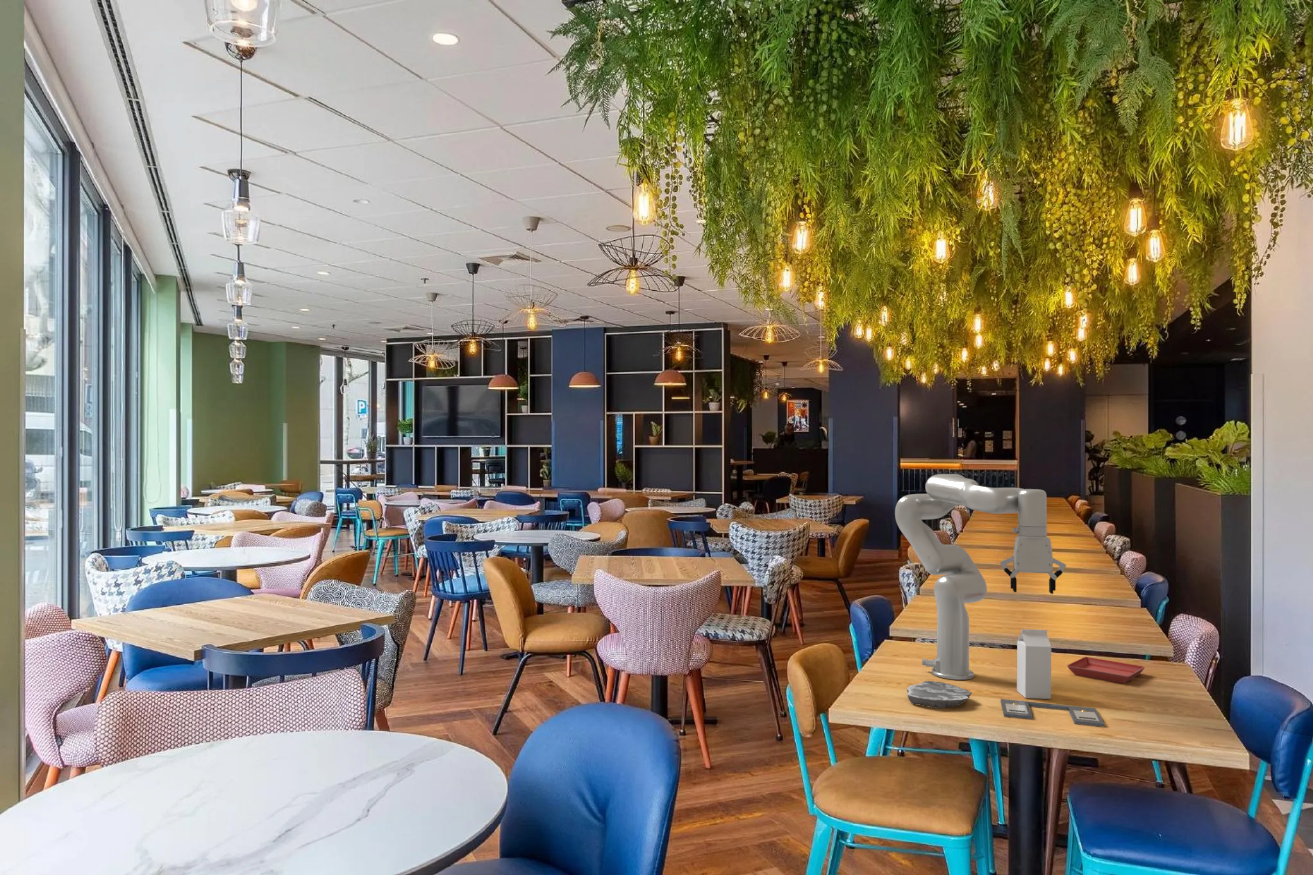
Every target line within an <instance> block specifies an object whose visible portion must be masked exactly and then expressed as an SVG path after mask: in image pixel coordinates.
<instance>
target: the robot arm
mask: <svg viewBox="0 0 1313 875" xmlns="http://www.w3.org/2000/svg"><path fill="white" fill-rule="evenodd" d="M925 492H926V493H915V494H914V493H913V494H907V495H904V496H902V497H901V498H899V500H898V501H897V502H896V505H895V510H894V515H895V516H894V517H895V522H896V524H897V526H898V528H899V530H900V531H901V533H902V535H903V536H904V537H905V538H906V540H907V541H908V543H909V544H910V546H911V548H912V549H913V551H914V553H915V554H916V556H917V557H918V559H919V561H920V563H921V564H922V566H923V568H924V569H925V571H926V572H927V573H928V574H930V575H933V576H939V578H938V579H936V581H935V583H934V587H933V591H934V592H933V594H934V598H935V603H936V618H937V619H936V625H937V626H936V633H937V634H936V656H935V658H932V659H925V658H922V659H921V665H922V666H925V667H927V668H930V667H932V668H931V673H932V675H933V676H936V677H938V678H943V679H945V680H946V679H947V680H956V681H961V680H962V681H963V680H965V681H966V680H971V679H973V678H974V677H975V672H974V671H973V670H970V617H969V613H968V611H967V609H966V605H965V604H970V603H971V604H972V603H973V604H974V603H979V602H980V601H982V600H983V599H985V597H986V596H987V594H988V586H987V582H986V580H985V578H984V576H983V574H982V573H981V571H980V570H979V568H978V566H977V565H976V563H975V562H974V561H973V559H972V557H971V556H970V554H969V553H968V551H966V549H965V548H963V547H961V546H960V545H957V544H951V543H950V544H943V543H942V542H941V541H940V539H939V537H938V536H937V535H936V533H935V531H933V529H932V528H931V527H930V526H929V525H927V524H926V523H925V522H923V520H936V519H939V518H943V517H944V516H946V515H947V514H948V513H949V512H951V511H952V510H953V509H954V508H955V507H957V506H958V505H960V506H964V507H966V508H968V509H970V510H974V511H978V512H983V513H987V514H995V515H996V514H997V515H999V514H1017V523H1018V524H1017V526H1016V527H1013V528H1012V533H1016V534H1017V535H1018V536H1015V540H1014V546H1013V554H1012V556H1009V557H1007V558H1006V559H1003V560H1001V561H1000V562H999V564H1000V566H1001V568H1002V569H1003V571H1004V572H1005V573H1006V575H1008V576H1009V577H1010V589H1012V592H1013V593H1017V592H1018V591H1017V589H1018V588H1017V587H1018V586H1017V585H1018V583H1017V580H1018V579H1017V575H1018V574H1019V573H1031V574H1033V573H1035V574H1047V575H1048V576H1049V579H1048V592H1049V594H1051V595H1053V594H1054V592H1055V591H1056V589H1057V588H1056V585H1057V584H1056V581H1057V579H1058V578H1059V577H1060V576H1062V574H1063V572H1064V571H1065V569H1066V567H1067V564H1066V563H1064V562H1062V561H1061V560H1058V559H1056V558H1054V557H1053V548H1052V542H1051V538H1050V537H1049V536H1047V535H1048V532H1047V531H1048V527H1047V526H1048V525H1047V524H1048V522H1047V521H1048V517H1047V516H1048V515H1047V514H1048V512H1047V510H1048V508H1047V502H1048V501H1047V493H1046V491H1045V490H1043V489H1038V488H1035V489H1033V488H1025V489H1024V488H1021V487H989V486H983V485H979V483H978V482H977V481H976V480H974V479H972V478H966V477H964V476H963V475H961V474H958V473H949V474H948V473H939V474H938V473H936V474H935V475H931V476H930V477H929V478H928V479H927V481H926V482H925ZM1010 563H1013V569H1012V570H1010V568H1008V564H1010ZM1054 565H1055V566H1058V569H1057V570H1056V571H1055V572H1054V571H1053V570H1054Z"/></svg>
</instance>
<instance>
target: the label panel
mask: <svg viewBox="0 0 1313 875" xmlns="http://www.w3.org/2000/svg"><path fill="white" fill-rule="evenodd" d="M1000 704H1001V710H1002V715H1003V717H1006V718H1016V719H1025V720H1034V716H1033V714H1032V711H1031V708H1040V709H1041V708H1042V709H1049V710H1051V709H1052V710H1061V711H1063V710H1064V711H1068V713H1069V715H1070V717H1071V719H1072V721H1073V723H1074V725H1081V724H1082V725H1083V726H1090V727H1091V726H1092V727H1100V726H1101V727H1102V728H1105V726H1106V725H1105V722H1104V721H1103V718H1102V717H1101V715H1100V713H1099V712H1098V710H1097V709H1096V708H1095V707H1089V706H1078V705H1077V706H1076V705H1069V704H1068V705H1067V704H1058V703H1047V702H1036V701H1027V700H1018V699H1017V700H1015V699H1009V698H1008V699H1007V698H1005V699H1004V698H1000ZM1029 706H1030V707H1029ZM1082 725H1081V726H1082Z"/></svg>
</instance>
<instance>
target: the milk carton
mask: <svg viewBox="0 0 1313 875" xmlns="http://www.w3.org/2000/svg"><path fill="white" fill-rule="evenodd" d="M1020 632H1021V633H1020V635H1019V636H1018V639H1017V643H1016V646H1017V648H1016V651H1017V653H1016V664H1017V665H1016V691H1017V692H1018V693H1019V694H1020V695H1021V696H1023V697H1024V699H1025V698H1026V699H1041V700H1043V699H1045V700H1051V699H1052V644H1051V643H1050V639H1049V636H1048V630H1047V629H1029V628H1028V629H1027V628H1026V629H1021V631H1020Z"/></svg>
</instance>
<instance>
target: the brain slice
mask: <svg viewBox="0 0 1313 875" xmlns="http://www.w3.org/2000/svg"><path fill="white" fill-rule="evenodd" d="M906 691H907V695H906V696H907V698H908V701H909V702H910V703H911V704H912V703H913V705H915V704H920V705H919V706H923V705H924V707H927V706H930V707H929V708H931V707H932V708H931V709H944V708H953V707H952V706H954V707H955V706H956V707H958V706H960V705H961V704H963V703H965V702H966V701H967V700H969V698H970V697H971V695H972V691H969V690H967V688H966V689H965V688H962V687H960V686H957V685H954V684H951V683H946V682H942V681H933V680H924V681H922V682H921V683H917V684H912V685H909V686H907V687H906ZM935 707H936V708H935Z"/></svg>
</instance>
